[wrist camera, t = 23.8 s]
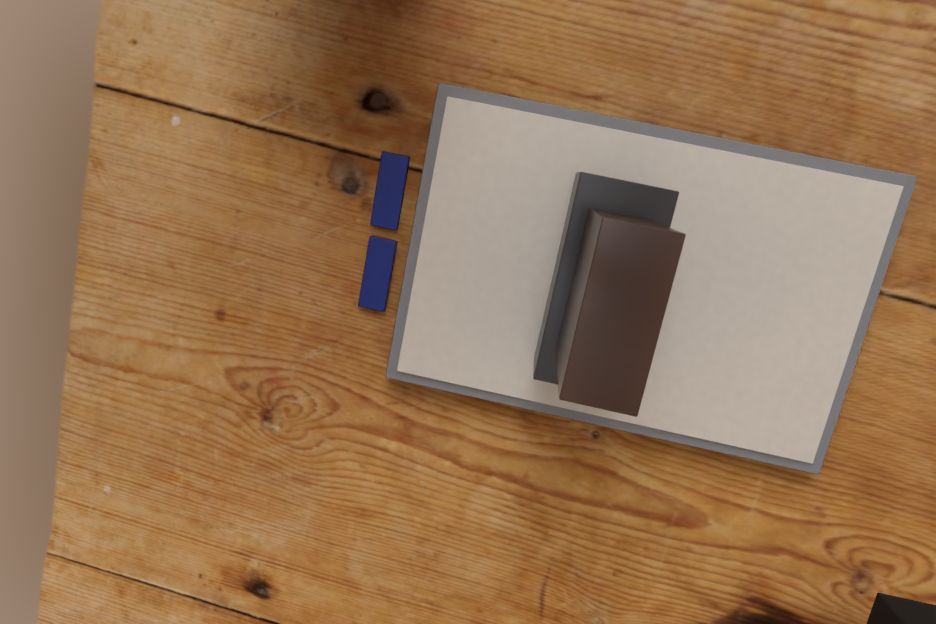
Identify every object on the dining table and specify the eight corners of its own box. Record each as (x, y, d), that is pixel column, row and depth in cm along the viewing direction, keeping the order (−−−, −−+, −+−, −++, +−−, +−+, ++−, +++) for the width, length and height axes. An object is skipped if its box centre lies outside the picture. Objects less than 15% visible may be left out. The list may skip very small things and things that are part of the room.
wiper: (533, 357, 37) (530, 432, 26) (576, 172, 35) (591, 170, 24) (616, 376, 37) (647, 458, 26) (664, 189, 35) (718, 196, 24)
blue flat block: (409, 156, 37) (410, 156, 37) (381, 151, 37) (383, 151, 37) (396, 230, 38) (398, 229, 38) (369, 225, 38) (371, 224, 38)
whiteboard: (389, 372, 39) (384, 378, 38) (441, 84, 36) (437, 82, 35) (812, 467, 38) (820, 476, 37) (907, 176, 35) (920, 176, 33)
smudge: (396, 241, 38) (397, 241, 38) (369, 236, 38) (371, 235, 38) (383, 312, 38) (385, 310, 39) (357, 306, 38) (359, 305, 39)
